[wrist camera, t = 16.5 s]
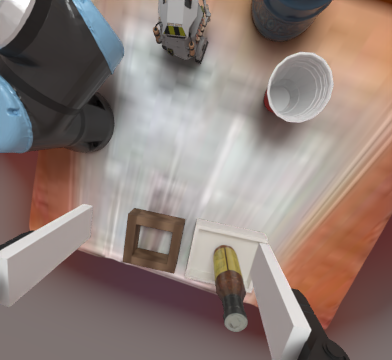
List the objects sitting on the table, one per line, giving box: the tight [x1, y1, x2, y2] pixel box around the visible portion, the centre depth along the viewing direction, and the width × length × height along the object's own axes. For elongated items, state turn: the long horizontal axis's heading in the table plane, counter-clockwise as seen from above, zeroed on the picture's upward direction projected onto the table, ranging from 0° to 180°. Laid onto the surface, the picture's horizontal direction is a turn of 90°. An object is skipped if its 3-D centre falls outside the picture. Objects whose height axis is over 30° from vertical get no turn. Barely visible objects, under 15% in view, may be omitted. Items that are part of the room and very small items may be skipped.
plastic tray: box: [185, 218, 268, 293], centre depth 52 cm, size 18×16×4 cm
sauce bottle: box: [213, 245, 248, 332], centre depth 44 cm, size 7×6×20 cm
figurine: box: [153, 0, 211, 64], centre depth 35 cm, size 9×12×15 cm
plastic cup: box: [264, 52, 334, 123], centre depth 38 cm, size 11×11×12 cm
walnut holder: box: [123, 208, 185, 273], centre depth 53 cm, size 14×14×4 cm
